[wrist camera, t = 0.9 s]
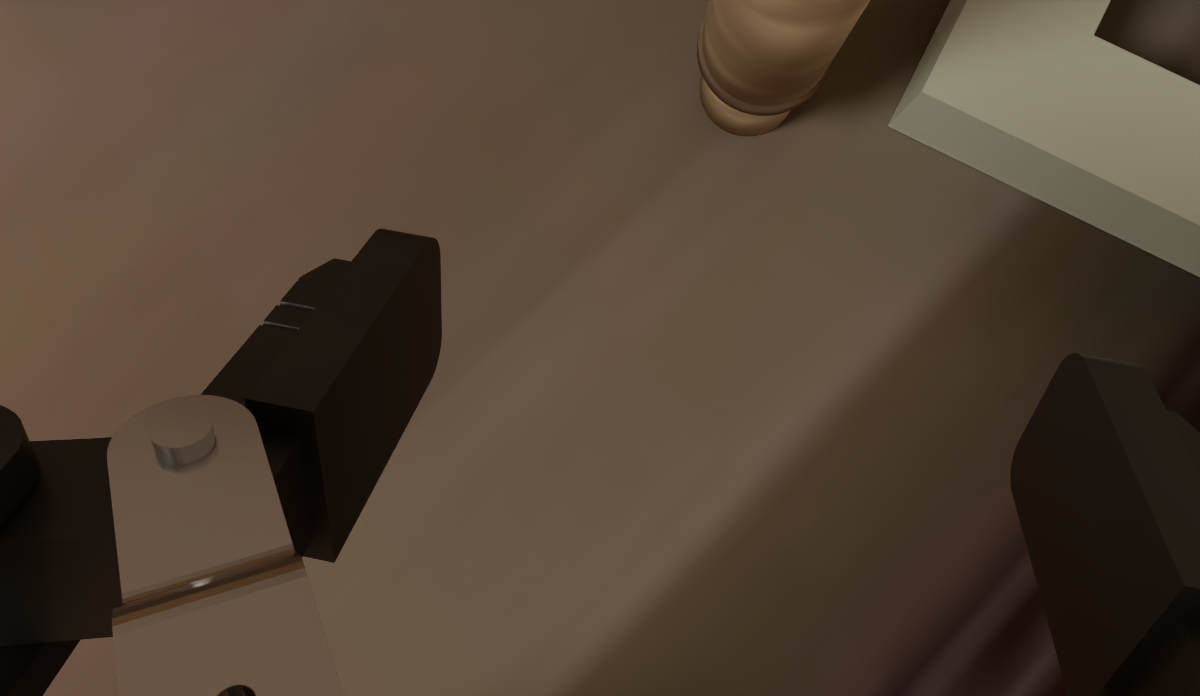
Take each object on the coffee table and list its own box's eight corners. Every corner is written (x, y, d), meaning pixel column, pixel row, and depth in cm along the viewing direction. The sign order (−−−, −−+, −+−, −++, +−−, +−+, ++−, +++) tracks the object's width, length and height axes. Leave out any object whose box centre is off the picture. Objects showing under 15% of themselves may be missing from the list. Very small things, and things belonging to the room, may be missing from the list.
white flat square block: (887, 126, 31) (921, 91, 27) (1058, -217, 31) (1113, -294, 28) (1254, 303, 30) (1337, 291, 27) (1422, -50, 31) (1524, -107, 27)
